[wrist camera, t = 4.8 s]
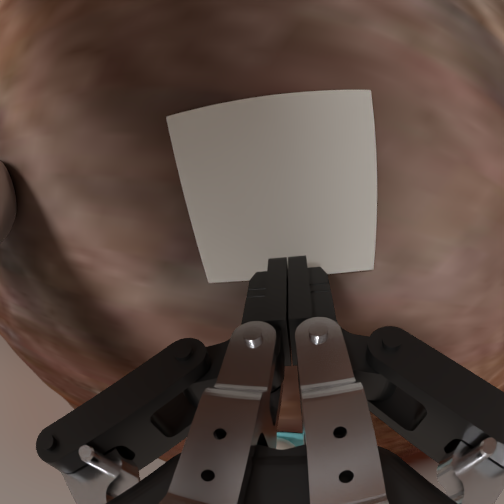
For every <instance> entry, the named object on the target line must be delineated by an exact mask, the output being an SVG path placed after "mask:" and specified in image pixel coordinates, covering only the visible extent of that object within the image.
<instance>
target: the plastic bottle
mask: <svg viewBox="0 0 504 504" xmlns="http://www.w3.org/2000/svg"><path fill="white" fill-rule="evenodd" d="M15 217H16V196H15V190H14V186H13V183H12V180H11V177H10V174H9V172H8V170H7V168H6V167H5V165H4V164H3V163H2V162H1V161H0V243H1V242H2V241H3V240H4V239H5V238H6V237H7V236H8V234H9V233H10V231H11V228H12V226H13V223H14V220H15Z"/></svg>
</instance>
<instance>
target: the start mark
mask: <svg viewBox="0 0 504 504" xmlns="http://www.w3.org/2000/svg"><path fill="white" fill-rule="evenodd" d="M166 120H167V124H168V129H169V134H170V138H171V143H172V147H173V152H174V156H175V160H176V165H177V169H178V173H179V177H180V181H181V185H182V189H183V193H184V197H185V201H186V205H187V209H188V213H189V216H190V220H191V224H192V227H193V231H194V235H195V238H196V242H197V246H198V249H199V253H200V256H201V260H202V263H203V266H204V270H205V273H206V276H207V280H208V283H218V282H234V281H249V280H250V279H251V278H252V277H253V275H254V274H255V273H256V272H262V271H267V267H268V259H270V258H282V257H287V263H288V257H292V256H304V255H306V259H307V267H308V268H310V267H321V268H322V269H323V270H324V271H325V272H326V273H327V274H335V273H345V272H355V271H365V270H373V268H374V257H375V243H376V223H377V158H376V139H375V125H374V114H373V105H372V96H371V90H325V91H308V92H295V93H285V94H276V95H268V96H261V97H254V98H248V99H241V100H236V101H230V102H225V103H220V104H215V105H210V106H206V107H201V108H197V109H193V110H189V111H185V112H181V113H177V114H174V115H170V116H167V117H166Z"/></svg>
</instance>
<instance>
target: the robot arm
mask: <svg viewBox="0 0 504 504" xmlns="http://www.w3.org/2000/svg"><path fill="white" fill-rule="evenodd" d="M291 350H292V360H293V365H297V367H298V382H299V394H300V405H301V416H302V429H303V445H300V446H297V447H293V448H289V449H284V450H279V449H276V445H277V426H278V420H279V413H280V406H281V399H282V392H283V380H284V368H285V366H291ZM369 411H370V412H372V413H373V414H374V415H375V416H377V417H378V418H379V419H380V420H382V421H383V422H384V423H386V424H387V425H388V426H389V427H391V428H392V429H393V430H394V431H396V432H397V433H398V434H400V435H401V436H402V437H404V438H405V439H406V440H408V441H409V442H410V443H412V444H413V445H414V446H416V447H417V448H418V449H420V450H421V451H422V452H424V453H425V454H426V455H428V456H429V457H431V458H432V459H433V460H435V461H436V462H437V463H439V465H438V468H437V479H438V482H439V483H440V485H441V486H442V487H443V488H444V489H445V491H446V493H447V495H446V494H444V493H443V492H442V491H440V490H439V489H438V488H436V487H435V486H434V485H433V484H431V483H430V482H429V481H427V480H426V479H425V478H424V477H423V476H421V475H420V474H419V473H418V472H416V471H415V470H414V469H413V468H412V467H410V466H409V465H408V464H407V463H406V462H404V461H403V460H402V459H401V458H400V457H398V456H397V455H396V454H394V453H392V452H391V451H389V450H387V449H385V448H382V447H379V446H377V442H376V438H375V433H374V429H373V424H372V420H371V416H370V412H369ZM186 437H187V439H186V441H185V444H184V447H183V450H182V453H180V454H178V455H176V456H174V457H173V458H171V459H170V460H168V461H167V462H166V463H165V464H163V465H162V466H161V467H159V468H158V469H157V470H155V471H154V472H153V473H151V474H150V475H148V476H147V477H145V478H144V479H143V480H141V481H140V477H139V470H141V469H142V468H143V467H145V466H147V465H148V464H149V463H151V462H153V461H154V460H155V459H157V458H158V457H160V456H161V455H163V454H164V453H165V452H167V451H168V450H170V449H171V448H172V447H174V446H175V445H177V444H178V443H179V442H181V441H182V440H183V439H185V438H186ZM36 450H37V453H38V455H39V457H40V458H41V459H42V460H43V461H45V462H46V463H48V464H50V465H51V466H53V467H55V468H56V469H58V470H59V471H60V472H61V473H62V475H63V477H64V479H65V481H66V483H67V486H68V488H69V490H70V492H71V494H72V496H73V498H74V500H75V502H76V504H494V503H495V501H496V500H497V498H498V497H499V495H500V493H501V492H502V490H503V488H504V392H502V391H501V390H499V389H498V388H496V387H494V386H493V385H491V384H490V383H488V382H487V381H485V380H483V379H482V378H480V377H479V376H477V375H475V374H474V373H472V372H471V371H469V370H467V369H466V368H464V367H463V366H461V365H459V364H458V363H456V362H455V361H453V360H451V359H450V358H448V357H447V356H445V355H443V354H442V353H440V352H439V351H437V350H435V349H434V348H432V347H430V346H429V345H427V344H426V343H424V342H422V341H421V340H419V339H417V338H416V337H414V336H413V335H411V334H409V333H408V332H406V331H404V330H402V329H400V328H398V327H392V326H388V327H382V328H379V329H377V330H375V331H374V332H373V333H372V334H371V336H370V337H368V336H361V335H355V334H351V333H349V332H347V331H345V330H344V329H342V328H341V327H340V326H339V324H338V322H337V320H336V315H335V310H334V305H333V300H332V295H331V290H330V285H329V280H328V275H327V273H326V272H325V271H324V270H323V269H322V268H321V267H310V268H308V267H307V259H306V255H304V256H292V257H288V263H287V257H282V258H270V259H268V267H267V271H262V272H256V273H255V274H254V275H253V277H252V278H251V279H250V281H249V287H248V292H247V298H246V303H245V308H244V313H243V318H242V324H241V325H240V326H239V327H238V328H236V329H235V330H234V332H233V333H232V335H231V338H230V339H229V340H228V341H226V342H223V343H220V344H216V345H212V346H208V347H205V346H204V344H203V343H202V342H201V341H199V340H197V339H194V338H184V339H180V340H178V341H175V342H174V343H172V344H171V345H169V346H168V347H166V348H165V349H164V350H162V351H161V352H159V353H158V354H156V355H155V356H154V357H152V358H151V359H149V360H148V361H146V362H145V363H143V364H142V365H141V366H139V367H138V368H136V369H135V370H133V371H132V372H130V373H129V374H127V375H126V376H124V377H123V378H122V379H120V380H119V381H117V382H116V383H114V384H113V385H111V386H110V387H108V388H107V389H105V390H104V391H102V392H101V393H99V394H98V395H96V396H95V397H93V398H91V399H90V400H88V401H87V402H85V403H84V404H82V405H81V406H79V407H78V408H76V409H75V410H73V411H71V412H70V413H68V414H67V415H65V416H64V417H62V418H61V419H59V420H57V421H56V422H54V423H53V424H51V425H49V426H48V427H46V428H45V429H43V430H42V432H41V433H40V434H39V436H38V438H37V442H36Z"/></svg>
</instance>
